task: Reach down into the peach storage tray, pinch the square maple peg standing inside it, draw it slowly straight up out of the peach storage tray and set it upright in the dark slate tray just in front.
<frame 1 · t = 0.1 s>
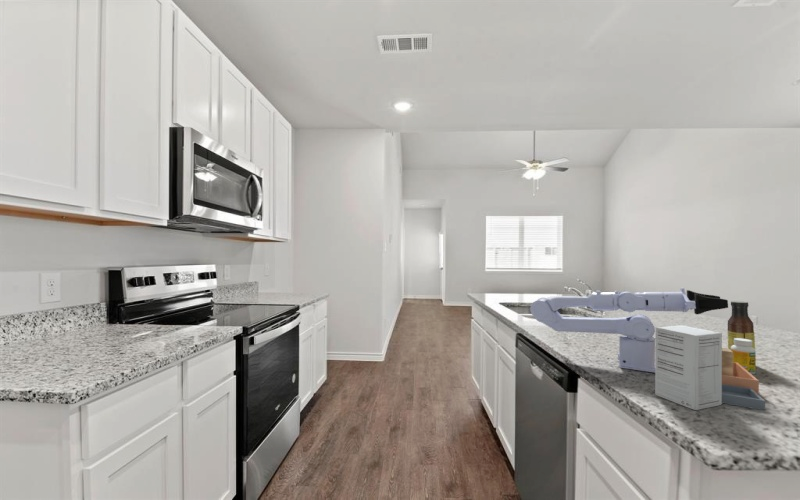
hand: (723, 301, 99), 22 cm above the worktop, tool horizontal, fingers open, 7 cm apart
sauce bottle: (741, 364, 113), on the worktop
maple peg: (721, 365, 97), in the peach storage tray
supplement box: (687, 401, 85), on the worktop
peach storage tray: (720, 382, 97), on the worktop
supplement bottle: (742, 372, 106), on the worktop
slate tray: (733, 399, 85), on the worktop
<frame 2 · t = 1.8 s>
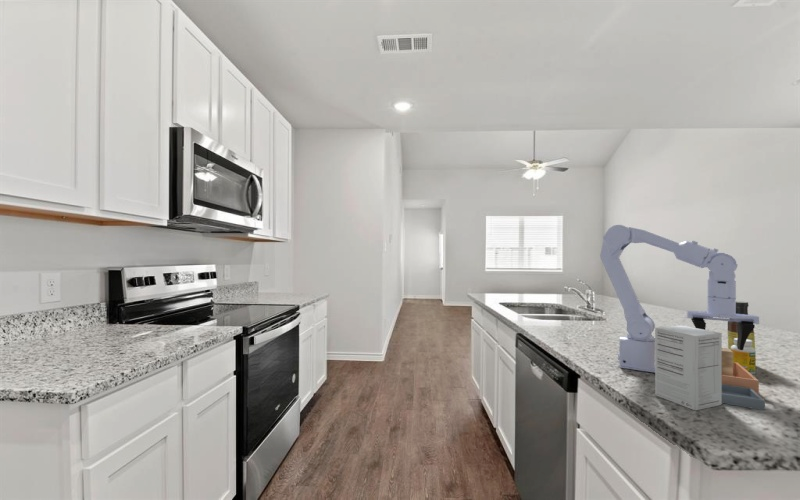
hand: (721, 347, 97), 10 cm above the worktop, tool pointing down, fingers open, 7 cm apart
nothing on the worktop moved.
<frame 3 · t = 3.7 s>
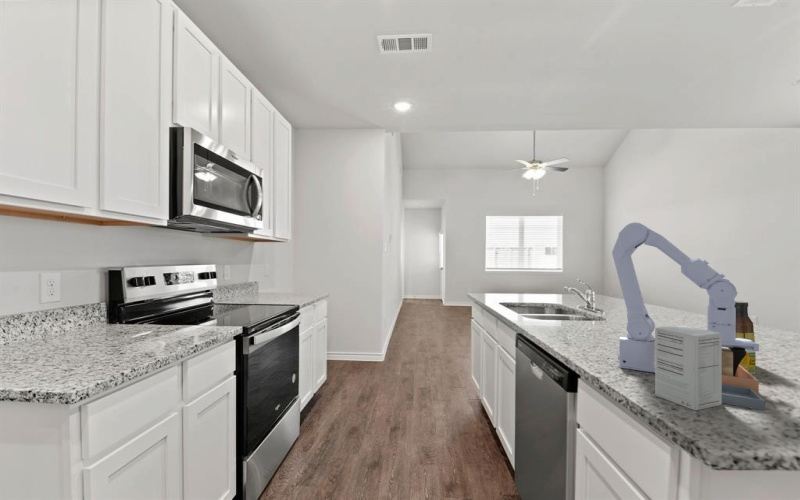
hand: (720, 373, 97), 2 cm above the worktop, tool pointing down, fingers closed on maple peg, 4 cm apart
maple peg: (721, 365, 97), in the peach storage tray, touching gripper
everything else where it was.
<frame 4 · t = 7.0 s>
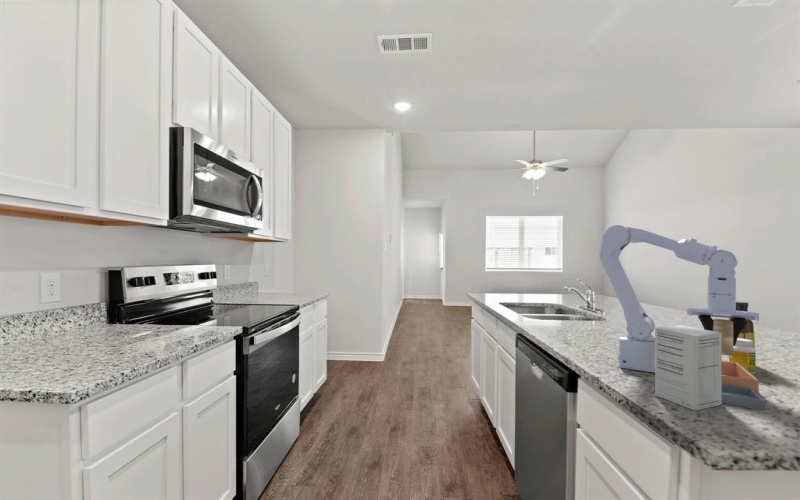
hand: (721, 344, 97), 10 cm above the worktop, tool pointing down, fingers closed on maple peg, 4 cm apart
maple peg: (721, 336, 97), point 12 cm above the worktop, touching gripper
everything else where it was.
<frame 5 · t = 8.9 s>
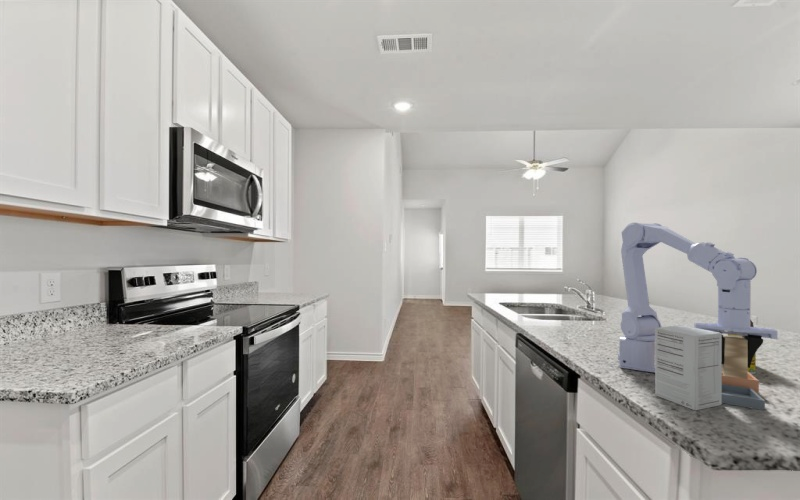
hand: (733, 364, 86), 8 cm above the worktop, tool pointing down, fingers closed on maple peg, 4 cm apart
maple peg: (733, 356, 86), point 10 cm above the worktop, touching gripper
everything else where it was.
when the fingers open (5 cm above the worktop, at t = 10.4 s): maple peg drops 2 cm, resting on slate tray.
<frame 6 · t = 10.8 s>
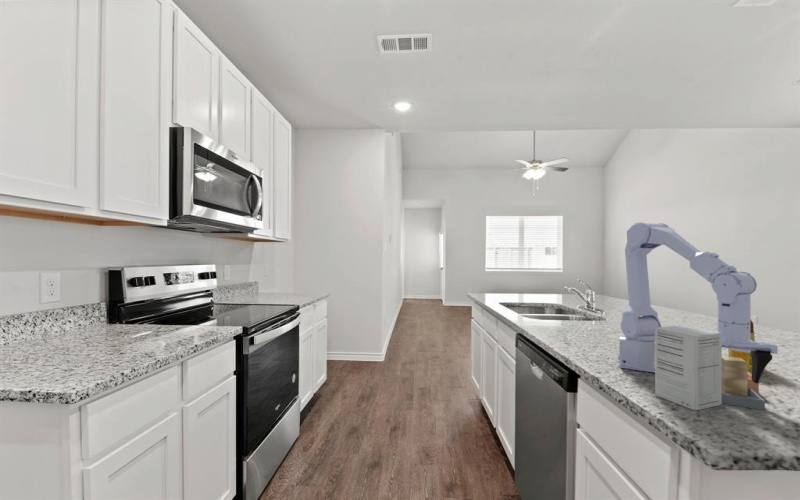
hand: (733, 378, 86), 5 cm above the worktop, tool pointing down, fingers open, 7 cm apart
maple peg: (733, 377, 86), in the slate tray, point 5 cm above the worktop
everything else where it was.
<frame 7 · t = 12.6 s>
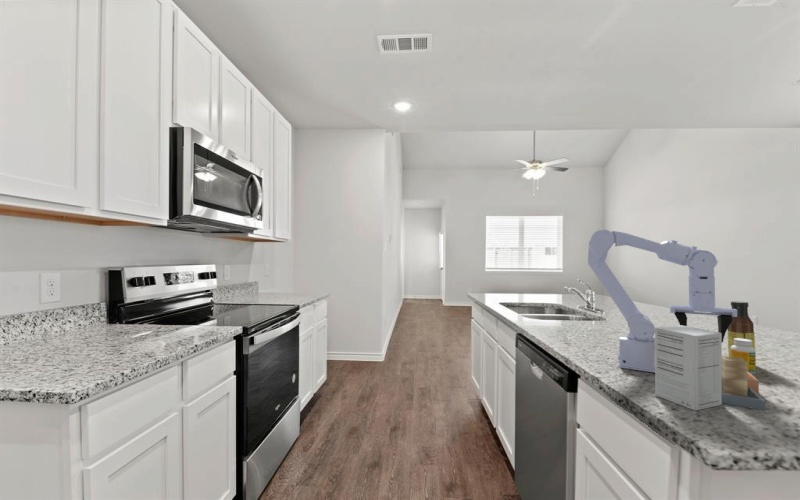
hand: (702, 340, 101), 10 cm above the worktop, tool pointing down, fingers open, 7 cm apart
nothing on the worktop moved.
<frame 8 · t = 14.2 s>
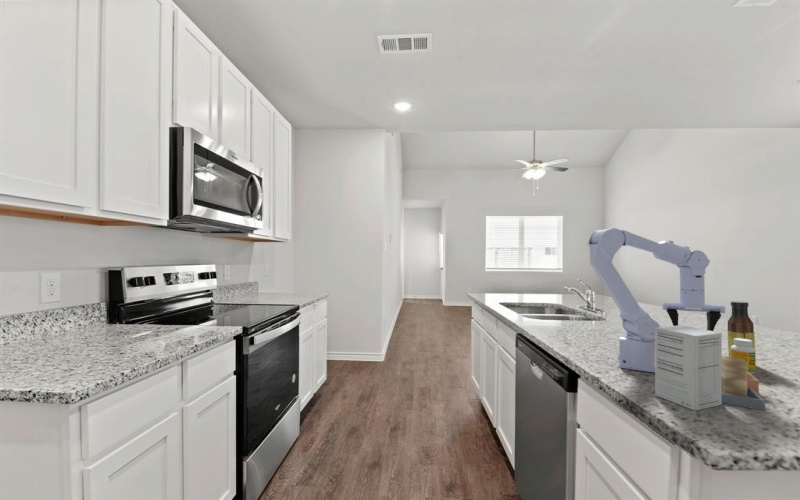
hand: (692, 335, 107), 10 cm above the worktop, tool pointing down, fingers open, 7 cm apart
nothing on the worktop moved.
at the end: maple peg 0.1 cm off-centre on the slate tray, point 5.1 cm above the slate tray's base; maple peg tilted 0°; the gripper is holding nothing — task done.
